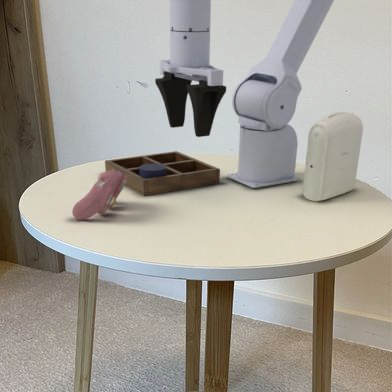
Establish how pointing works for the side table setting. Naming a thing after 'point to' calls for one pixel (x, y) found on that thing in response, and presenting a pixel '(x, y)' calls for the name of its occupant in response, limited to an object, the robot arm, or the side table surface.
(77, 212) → the pink rounded lump
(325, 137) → the photo printer
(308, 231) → the side table surface
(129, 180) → the grid
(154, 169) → the round container
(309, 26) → the robot arm
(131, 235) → the side table surface
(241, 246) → the side table surface
